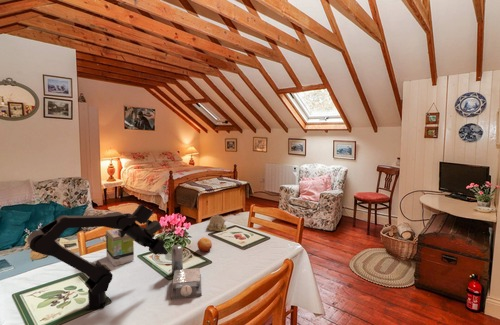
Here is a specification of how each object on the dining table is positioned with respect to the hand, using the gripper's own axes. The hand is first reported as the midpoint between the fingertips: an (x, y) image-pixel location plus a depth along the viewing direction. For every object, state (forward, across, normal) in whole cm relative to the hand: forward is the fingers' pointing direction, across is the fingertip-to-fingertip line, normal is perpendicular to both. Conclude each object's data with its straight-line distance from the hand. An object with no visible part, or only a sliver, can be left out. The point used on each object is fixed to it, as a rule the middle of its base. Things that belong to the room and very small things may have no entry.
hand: (162, 250), depth 121 cm
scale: (+12, -14, +7) cm, 20 cm away
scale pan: (+11, -13, +5) cm, 18 cm away
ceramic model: (+52, +34, -32) cm, 70 cm away
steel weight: (+15, 0, +4) cm, 15 cm away
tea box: (+5, +34, +14) cm, 37 cm away
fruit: (+32, +11, -13) cm, 36 cm away
